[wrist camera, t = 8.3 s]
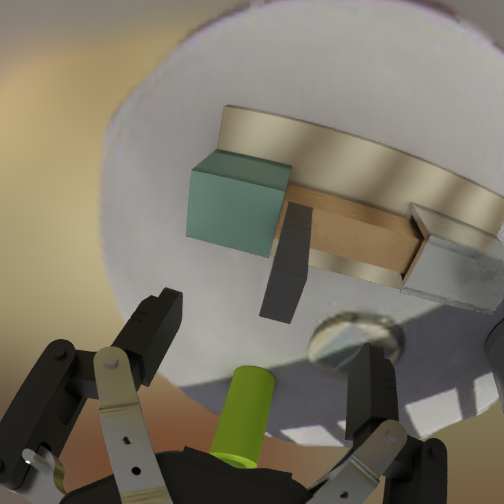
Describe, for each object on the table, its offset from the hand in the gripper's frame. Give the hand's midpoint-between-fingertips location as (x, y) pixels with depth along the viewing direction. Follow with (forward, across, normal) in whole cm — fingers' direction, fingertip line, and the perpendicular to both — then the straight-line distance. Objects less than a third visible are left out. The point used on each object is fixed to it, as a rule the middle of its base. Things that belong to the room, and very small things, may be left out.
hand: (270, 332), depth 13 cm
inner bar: (+13, -4, 0) cm, 13 cm away
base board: (+15, -6, 0) cm, 16 cm away
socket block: (+15, +4, 0) cm, 16 cm away
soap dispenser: (+15, -1, +27) cm, 31 cm away
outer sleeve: (+15, -14, 0) cm, 21 cm away
